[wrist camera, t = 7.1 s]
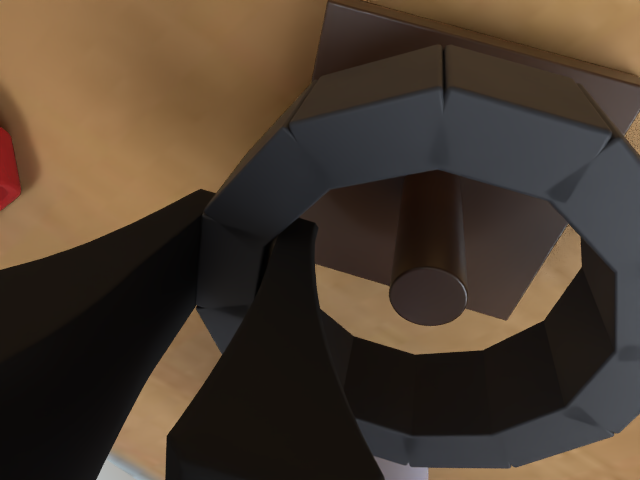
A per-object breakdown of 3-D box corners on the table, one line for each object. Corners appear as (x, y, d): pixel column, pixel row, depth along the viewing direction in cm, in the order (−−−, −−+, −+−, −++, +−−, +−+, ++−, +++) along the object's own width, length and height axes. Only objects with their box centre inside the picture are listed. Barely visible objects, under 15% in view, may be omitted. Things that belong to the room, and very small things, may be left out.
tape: (525, 419, 15) (539, 509, 13) (223, 327, 16) (186, 398, 13) (763, 129, 9) (866, 202, 7) (267, -8, 10) (214, 20, 7)
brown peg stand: (503, 300, 19) (528, 457, 14) (285, 235, 19) (225, 363, 14) (640, 76, 14) (768, 188, 8) (335, -7, 14) (269, 49, 9)
